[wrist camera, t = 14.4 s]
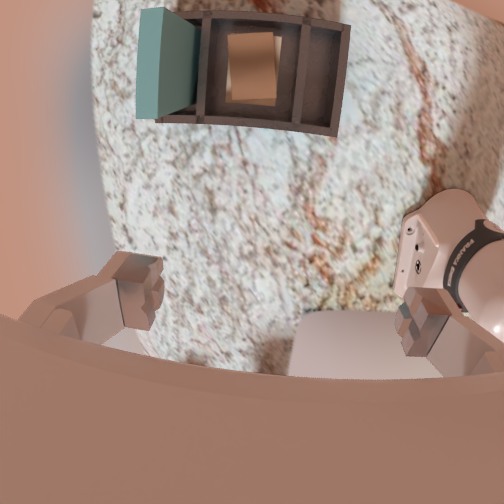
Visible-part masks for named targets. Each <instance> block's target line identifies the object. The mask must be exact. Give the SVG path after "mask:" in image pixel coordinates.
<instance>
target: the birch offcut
mask: <svg viewBox="0 0 504 504" xmlns="http://www.w3.org/2000/svg"><path fill="white" fill-rule="evenodd" d="M231 34H238V33H231ZM281 40H282V37H279V36H273V41H274V58H275V76H276V91H277V81H278V71H279V61H280V50H281ZM275 101H276V98H268V99H246V100H232V92H231V78H230V64H229V60H228V72H227V85H226V99H225V102H226V103H242V104H255V105H266V106H275Z"/></svg>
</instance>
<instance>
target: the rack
mask: <svg viewBox="0 0 504 504" xmlns="http://www.w3.org/2000/svg"><path fill="white" fill-rule="evenodd" d="M173 13H175V14H176V15H178V16H180V17H181V18H183V19H184V20H186V21H188V22H189V23H191V24H192V25H194V26H195V27H197V28H198V29H200V30H201V42H200V55H199V70H198V86H197V103H196V104H194V105H191V106H188V107H186V108H183V109H180V110H178V111H175V112H173V113H170V114H168V115H165V116H163V117H160V118H158V119H155V123H192V124H216V125H233V126H246V127H258V128H268V129H278V130H287V131H295V132H303V133H311V134H318V135H324V136H331V137H337V135H338V128H339V121H340V114H341V107H342V100H343V92H344V85H345V77H346V68H347V60H348V50H349V41H350V30H351V25H346V24H342V23H337V22H332V21H326V20H320V19H314V18H308V17H301V16H293V15H285V14H275V13H263V12H248V11H184V12H173ZM261 32H273V36H279V37H282V40H281V50H280V61H279V71H278V81H277V91H276V95H277V98H276V101H275V106H266V105H255V104H242V103H226V102H225V99H226V85H227V72H228V60H229V50H228V36H227V35H231V33H238V34H244V33H261Z"/></svg>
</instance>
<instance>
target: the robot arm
mask: <svg viewBox="0 0 504 504" xmlns="http://www.w3.org/2000/svg"><path fill="white" fill-rule="evenodd" d="M408 228H410V230H408ZM162 271H163V260H162V258H161V257H158V256H151V255H145V254H139V253H132V252H126V251H117V252H116V253H115V254H114V255H113V256H112V258H111V259H110V260H109V261H108V262H107V264H106V265H105V266H104V267H103V269H102V270H101V271H100V272H99V274H98V275H97V276H94V275H92V276H90V277H87V278H85V279H83V280H80V281H78V282H75V283H73V284H71V285H68V286H66V287H64V288H61V289H59V290H57V291H54V292H52V293H50V294H47V295H45V296H43V297H40V298H38V299H36V300H34V301H33V302H32V304H31V305H30V306H29V307H28V308H27V309H26V310H25V312H24V313H23V314H22V315H21V316H20V318H19V319H18V320H15V319H13V318H10V317H7V316H4V315H2V314H0V504H504V231H503V230H502V229H501V228H500V227H499V226H497V225H496V224H495V223H493V222H491V221H489V219H488V218H487V217H486V216H485V215H484V213H483V212H482V210H481V209H480V207H479V206H478V204H477V202H476V200H475V199H474V197H473V196H472V195H471V194H469V193H468V192H466V191H464V190H461V189H448V190H444V191H442V192H439V193H437V194H436V195H434V196H433V197H432V198H430V199H429V200H428V201H427V202H426V203H425V204H424V205H423V206H422V207H421V208H420V209H418V210H416V211H414V212H411V213H409V214H408V215H406V216H405V217H404V218H403V220H402V227H401V236H400V244H399V251H398V258H397V265H396V271H395V277H394V283H393V291H394V292H395V293H396V294H397V295H398V296H399V297H401V298H403V299H404V301H405V302H404V303H403V304H402V305H400V306H399V307H398V310H397V313H396V316H395V328H396V331H397V333H398V334H399V335H400V336H401V337H402V338H403V339H402V341H401V344H402V347H403V350H404V352H405V355H406V356H415V357H426V358H427V359H428V360H429V361H430V363H432V365H433V366H434V367H435V368H436V369H437V370H438V371H439V372H440V373H441V374H442V376H443V378H425V379H399V380H398V379H396V380H395V379H394V380H359V379H358V380H357V379H355V380H354V379H327V378H308V377H294V376H282V375H271V374H261V373H252V372H244V371H235V370H228V369H220V368H213V367H207V366H200V365H194V364H188V363H182V362H176V361H171V360H165V359H160V358H155V357H150V356H145V355H140V354H136V353H131V352H126V351H122V350H118V349H114V348H110V347H106V346H102V345H101V344H103V343H104V342H106V341H107V340H108V339H110V338H111V337H112V336H114V335H115V334H117V333H118V332H120V331H121V330H122V329H124V327H128V328H134V329H140V330H146V331H149V330H150V328H151V326H152V324H153V321H154V319H155V311H156V310H157V309H159V308H160V306H161V304H162V301H163V296H164V280H163V279H162V277H161V276H160V274H161V273H162ZM462 312H469V314H470V315H471V317H472V319H473V320H474V321H473V320H471V319H470V318H469V317H466V316H464V315H463V314H462Z"/></svg>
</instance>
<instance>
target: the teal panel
mask: <svg viewBox="0 0 504 504" xmlns="http://www.w3.org/2000/svg"><path fill="white" fill-rule="evenodd" d="M200 42H201V30H200V29H198V28H197V27H195V26H194V25H192V24H191V23H189V22H188V21H186V20H184V19H183V18H181V17H180V16H178V15H176V14H175V13H173V12H171V11H170V10H168V9H167V8H165V7H158V8H149V9H141V16H140V27H139V40H138V55H137V78H136V119H158V118H160V117H163V116H165V115H168V114H170V113H173V112H175V111H178V110H180V109H183V108H186V107H188V106H191V105H194V104H196V103H197V86H198V70H199V55H200Z"/></svg>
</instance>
